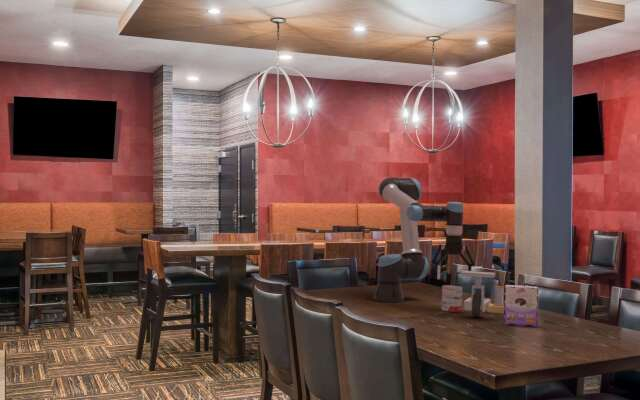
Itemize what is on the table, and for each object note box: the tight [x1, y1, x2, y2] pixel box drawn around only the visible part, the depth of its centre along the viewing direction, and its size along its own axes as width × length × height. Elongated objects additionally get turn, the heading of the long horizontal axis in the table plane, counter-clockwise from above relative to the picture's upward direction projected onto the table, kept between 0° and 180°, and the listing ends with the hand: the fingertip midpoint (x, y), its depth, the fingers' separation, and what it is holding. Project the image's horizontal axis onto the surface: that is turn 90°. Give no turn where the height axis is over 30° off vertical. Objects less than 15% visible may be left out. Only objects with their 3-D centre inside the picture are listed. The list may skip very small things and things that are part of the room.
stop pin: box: [493, 285, 505, 306], centre depth 327 cm, size 4×4×12 cm
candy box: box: [503, 284, 539, 328], centre depth 292 cm, size 14×6×16 cm, turn 71°
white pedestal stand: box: [460, 270, 496, 318], centre depth 309 cm, size 14×10×20 cm
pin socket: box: [486, 303, 504, 315], centre depth 327 cm, size 9×9×3 cm
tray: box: [463, 296, 492, 313], centre depth 333 cm, size 16×10×4 cm, turn 157°
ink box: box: [441, 284, 463, 313], centre depth 325 cm, size 8×5×12 cm, turn 39°
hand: (452, 280), depth 325 cm, fingers open, 13 cm apart
